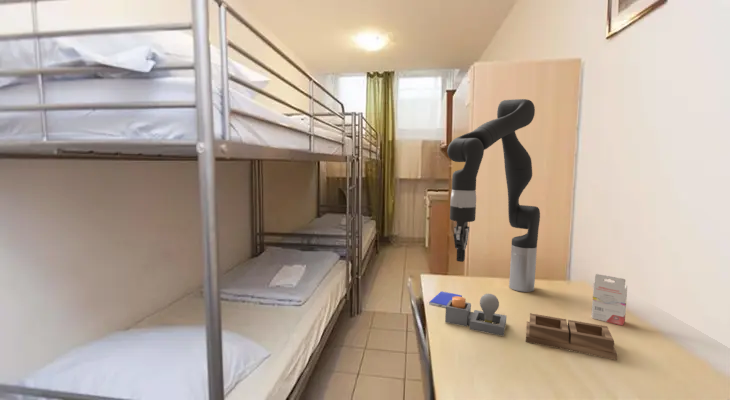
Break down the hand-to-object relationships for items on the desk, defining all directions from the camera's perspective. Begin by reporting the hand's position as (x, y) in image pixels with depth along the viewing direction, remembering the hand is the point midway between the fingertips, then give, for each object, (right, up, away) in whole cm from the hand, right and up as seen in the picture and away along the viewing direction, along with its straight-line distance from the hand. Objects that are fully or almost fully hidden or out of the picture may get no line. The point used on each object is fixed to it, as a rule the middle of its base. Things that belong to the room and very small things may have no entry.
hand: (460, 260), depth 111 cm
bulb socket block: (+4, -19, 0) cm, 20 cm away
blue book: (0, -18, +18) cm, 26 cm away
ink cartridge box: (+48, -20, +5) cm, 52 cm away
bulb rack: (+27, -21, -11) cm, 35 cm away
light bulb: (+8, -20, -2) cm, 21 cm away
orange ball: (0, -15, +1) cm, 15 cm away
